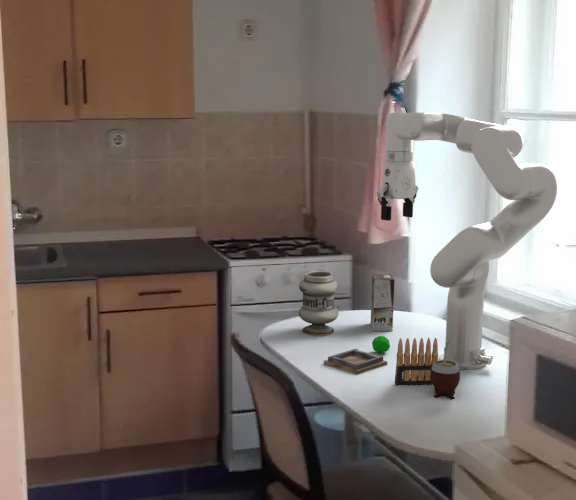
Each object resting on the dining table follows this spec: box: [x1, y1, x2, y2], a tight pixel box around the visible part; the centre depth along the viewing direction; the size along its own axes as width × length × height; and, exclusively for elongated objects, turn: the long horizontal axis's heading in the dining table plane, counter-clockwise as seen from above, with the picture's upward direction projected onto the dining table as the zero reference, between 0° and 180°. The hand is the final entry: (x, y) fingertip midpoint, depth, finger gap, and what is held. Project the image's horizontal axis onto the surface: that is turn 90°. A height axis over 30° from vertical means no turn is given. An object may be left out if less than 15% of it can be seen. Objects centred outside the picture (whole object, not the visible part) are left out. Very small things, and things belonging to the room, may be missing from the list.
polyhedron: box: [371, 335, 391, 355], centre depth 239 cm, size 5×5×5 cm
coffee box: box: [370, 273, 395, 332], centre depth 264 cm, size 9×6×16 cm
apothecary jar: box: [298, 270, 340, 337], centre depth 258 cm, size 12×12×18 cm
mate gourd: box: [430, 341, 461, 400], centre depth 203 cm, size 8×8×15 cm
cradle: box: [323, 348, 388, 375], centre depth 228 cm, size 12×12×2 cm
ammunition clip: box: [394, 337, 439, 387], centre depth 212 cm, size 11×2×12 cm, turn 94°
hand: (396, 218), depth 241 cm, fingers open, 9 cm apart
